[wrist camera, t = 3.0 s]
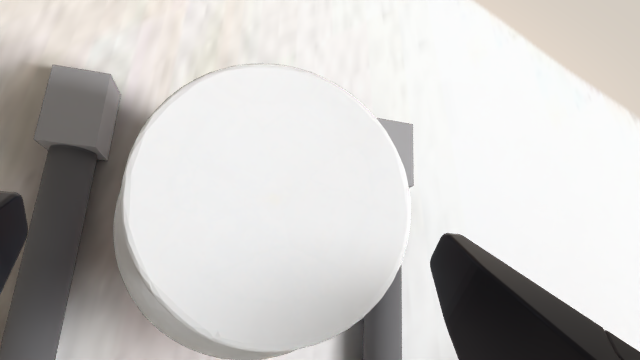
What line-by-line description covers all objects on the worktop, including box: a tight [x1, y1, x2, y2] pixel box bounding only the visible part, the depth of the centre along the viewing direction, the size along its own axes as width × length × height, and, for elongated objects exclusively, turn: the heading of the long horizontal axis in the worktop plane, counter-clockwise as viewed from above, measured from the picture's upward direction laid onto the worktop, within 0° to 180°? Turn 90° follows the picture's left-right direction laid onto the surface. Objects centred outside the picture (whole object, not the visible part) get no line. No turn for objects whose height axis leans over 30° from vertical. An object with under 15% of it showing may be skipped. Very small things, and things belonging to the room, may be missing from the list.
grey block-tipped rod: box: [363, 118, 414, 360], centre depth 17 cm, size 14×2×2 cm, turn 177°
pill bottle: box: [114, 64, 411, 360], centre depth 11 cm, size 6×6×11 cm
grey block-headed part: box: [0, 65, 121, 360], centre depth 14 cm, size 14×2×2 cm, turn 177°
